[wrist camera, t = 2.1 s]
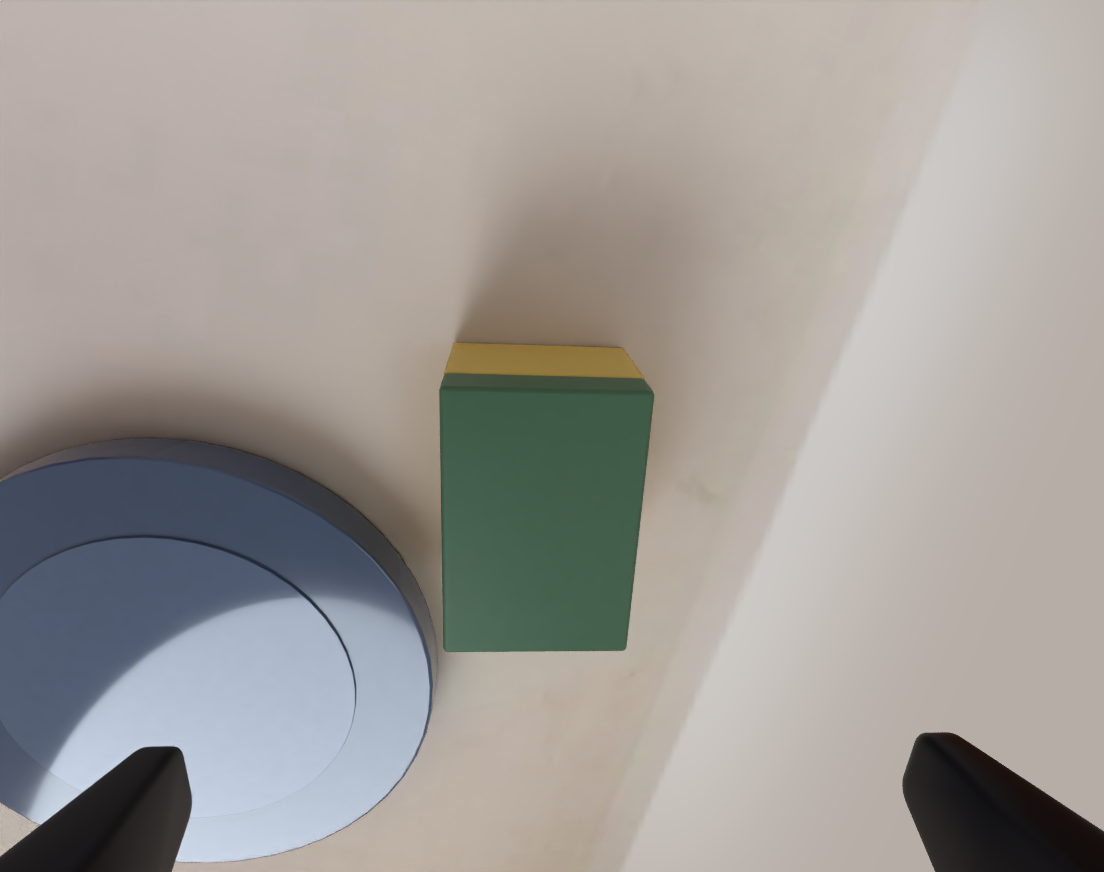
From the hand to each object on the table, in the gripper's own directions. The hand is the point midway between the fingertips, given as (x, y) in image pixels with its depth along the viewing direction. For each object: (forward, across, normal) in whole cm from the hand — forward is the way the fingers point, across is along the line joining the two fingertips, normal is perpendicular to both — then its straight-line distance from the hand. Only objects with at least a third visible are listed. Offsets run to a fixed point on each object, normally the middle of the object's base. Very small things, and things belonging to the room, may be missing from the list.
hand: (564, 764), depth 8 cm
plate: (+9, +9, +6) cm, 14 cm away
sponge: (+9, 0, 0) cm, 9 cm away
